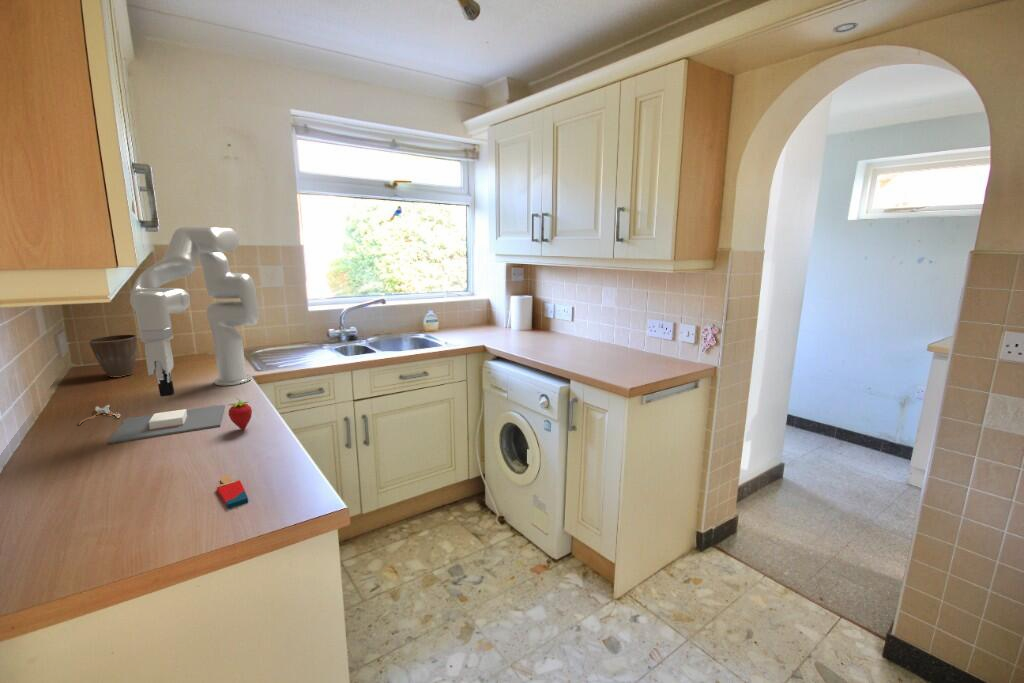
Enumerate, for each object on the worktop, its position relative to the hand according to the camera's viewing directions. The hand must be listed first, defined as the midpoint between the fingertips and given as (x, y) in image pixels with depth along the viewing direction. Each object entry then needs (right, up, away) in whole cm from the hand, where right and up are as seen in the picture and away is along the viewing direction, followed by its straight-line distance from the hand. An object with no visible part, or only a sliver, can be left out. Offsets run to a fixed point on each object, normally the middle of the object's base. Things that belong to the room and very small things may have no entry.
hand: (167, 394), depth 137 cm
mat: (-1, -9, +3) cm, 10 cm away
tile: (-3, -7, +5) cm, 9 cm away
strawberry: (+23, -10, -2) cm, 26 cm away
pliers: (-28, -8, +10) cm, 31 cm away
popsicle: (+41, -18, -36) cm, 57 cm away
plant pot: (-60, +1, +54) cm, 81 cm away
